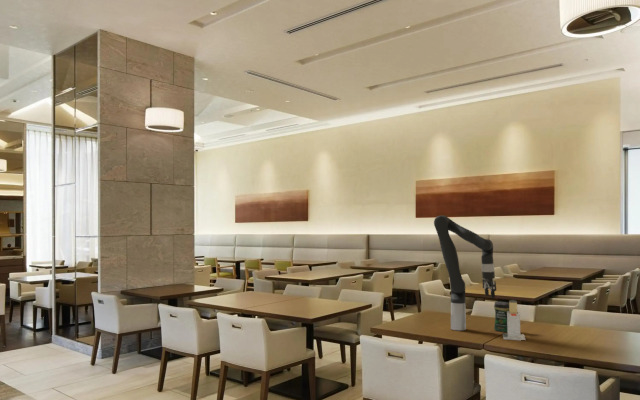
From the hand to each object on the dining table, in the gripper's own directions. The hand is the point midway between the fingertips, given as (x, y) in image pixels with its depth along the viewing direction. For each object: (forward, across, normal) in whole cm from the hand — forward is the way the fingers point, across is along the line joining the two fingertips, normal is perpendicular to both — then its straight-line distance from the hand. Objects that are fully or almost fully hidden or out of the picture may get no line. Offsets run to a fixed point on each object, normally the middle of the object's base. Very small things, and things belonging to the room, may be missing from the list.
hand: (489, 296), depth 302 cm
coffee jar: (+23, -6, +9) cm, 26 cm away
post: (+22, +14, +7) cm, 27 cm away
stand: (+23, +14, +7) cm, 28 cm away
